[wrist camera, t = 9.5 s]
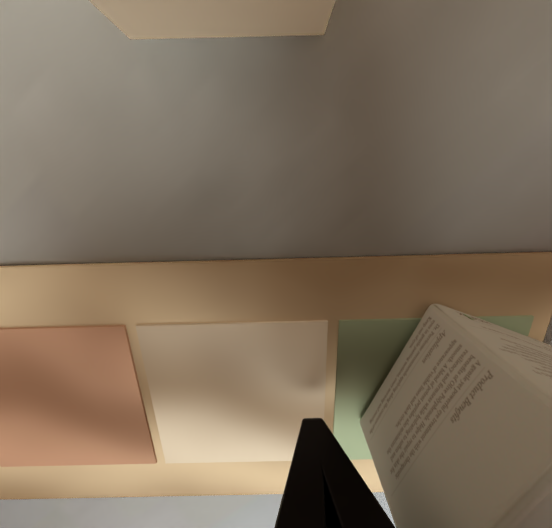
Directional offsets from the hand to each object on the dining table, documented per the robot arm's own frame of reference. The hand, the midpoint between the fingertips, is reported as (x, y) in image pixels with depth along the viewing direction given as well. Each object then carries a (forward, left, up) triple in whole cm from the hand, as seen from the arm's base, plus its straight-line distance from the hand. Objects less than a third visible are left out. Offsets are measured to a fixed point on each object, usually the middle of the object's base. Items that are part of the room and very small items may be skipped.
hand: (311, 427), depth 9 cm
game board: (0, +6, -2) cm, 6 cm away
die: (+14, +2, -2) cm, 14 cm away
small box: (0, -6, -2) cm, 6 cm away
